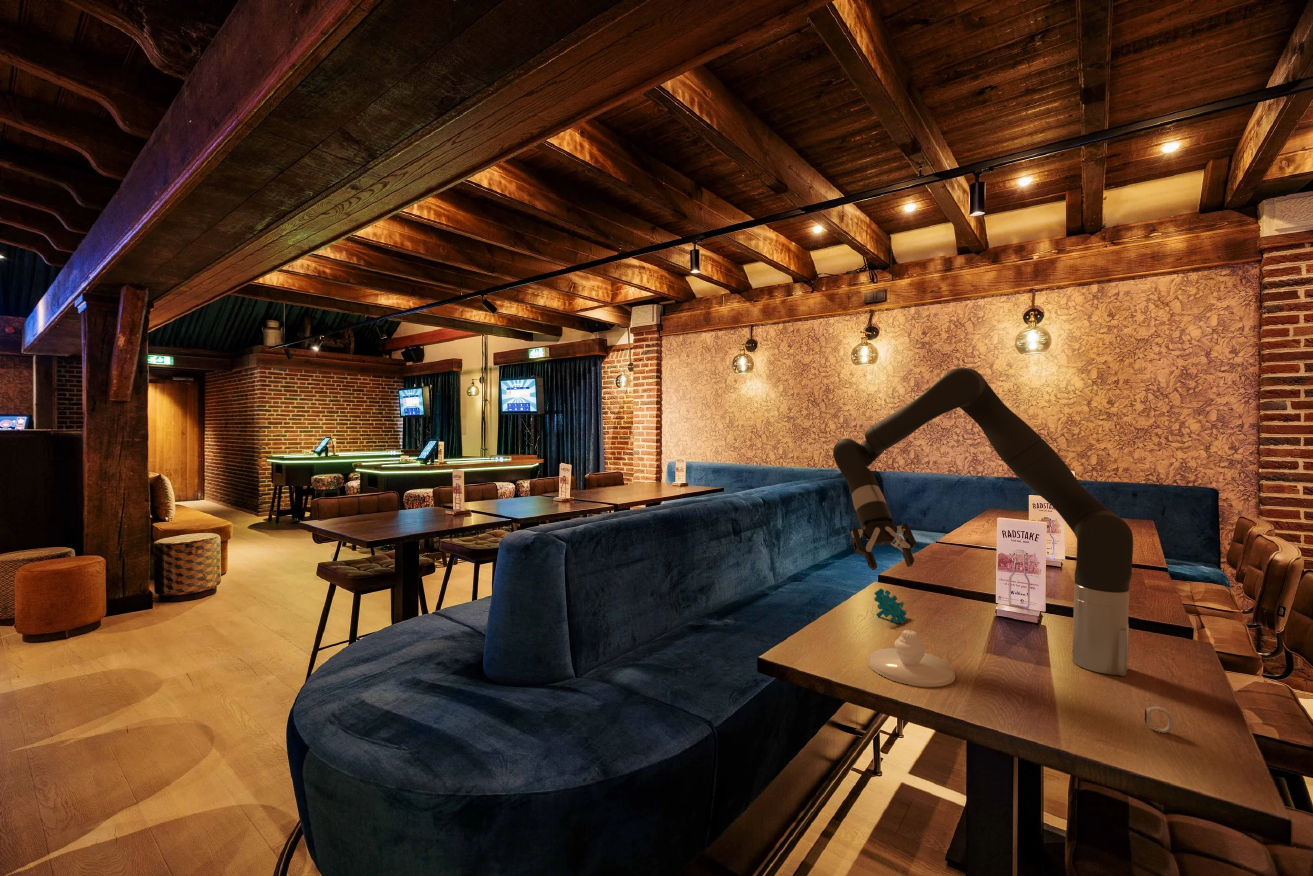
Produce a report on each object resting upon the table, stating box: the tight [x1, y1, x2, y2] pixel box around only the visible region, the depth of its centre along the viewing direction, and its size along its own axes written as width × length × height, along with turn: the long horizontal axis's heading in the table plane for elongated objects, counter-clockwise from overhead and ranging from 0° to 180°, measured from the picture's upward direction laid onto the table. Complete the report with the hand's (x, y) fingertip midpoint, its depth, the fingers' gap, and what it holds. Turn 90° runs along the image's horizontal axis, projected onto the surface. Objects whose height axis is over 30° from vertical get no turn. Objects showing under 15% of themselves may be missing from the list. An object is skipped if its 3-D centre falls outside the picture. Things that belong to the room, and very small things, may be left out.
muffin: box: [894, 629, 927, 666], centre depth 119 cm, size 6×6×7 cm
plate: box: [867, 647, 956, 688], centre depth 119 cm, size 17×17×1 cm
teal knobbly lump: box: [873, 588, 907, 624], centre depth 151 cm, size 11×6×10 cm
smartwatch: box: [1144, 705, 1175, 734], centre depth 96 cm, size 4×2×4 cm, turn 54°
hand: (892, 567), depth 133 cm, fingers open, 8 cm apart
